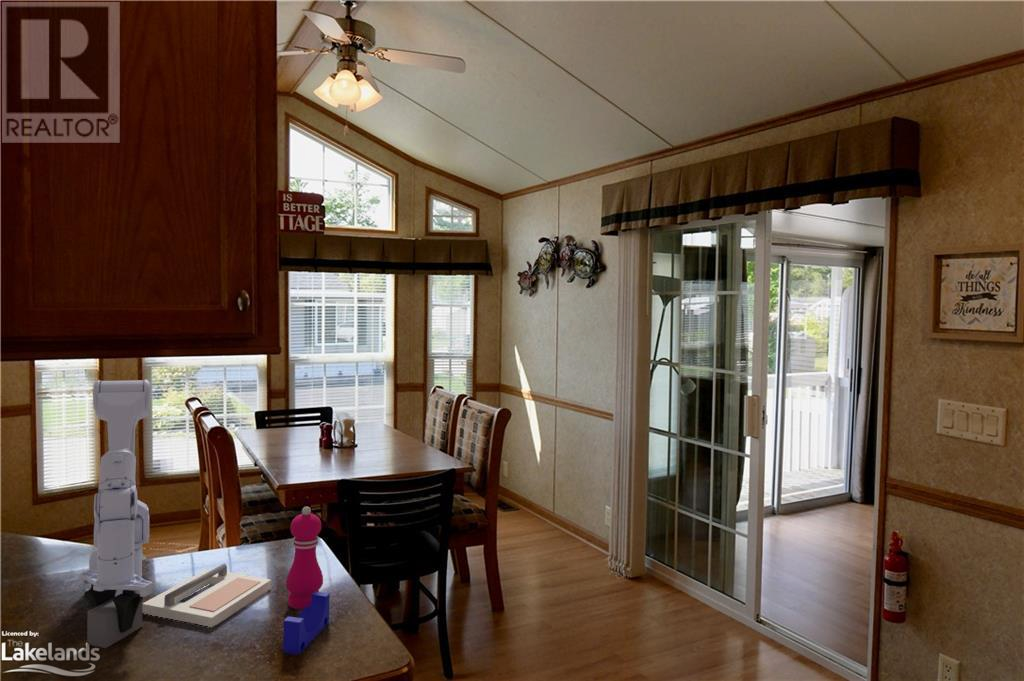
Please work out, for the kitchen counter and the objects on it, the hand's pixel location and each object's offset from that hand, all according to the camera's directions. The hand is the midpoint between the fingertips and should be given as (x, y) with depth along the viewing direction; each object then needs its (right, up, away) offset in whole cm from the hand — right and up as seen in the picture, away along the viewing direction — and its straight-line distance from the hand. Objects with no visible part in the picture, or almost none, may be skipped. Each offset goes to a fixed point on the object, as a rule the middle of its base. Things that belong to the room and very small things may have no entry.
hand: (115, 627), depth 121 cm
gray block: (0, -1, 0) cm, 1 cm away
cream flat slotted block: (+10, -1, +15) cm, 18 cm away
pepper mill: (+29, -2, +16) cm, 33 cm away
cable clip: (+33, -3, +3) cm, 33 cm away
